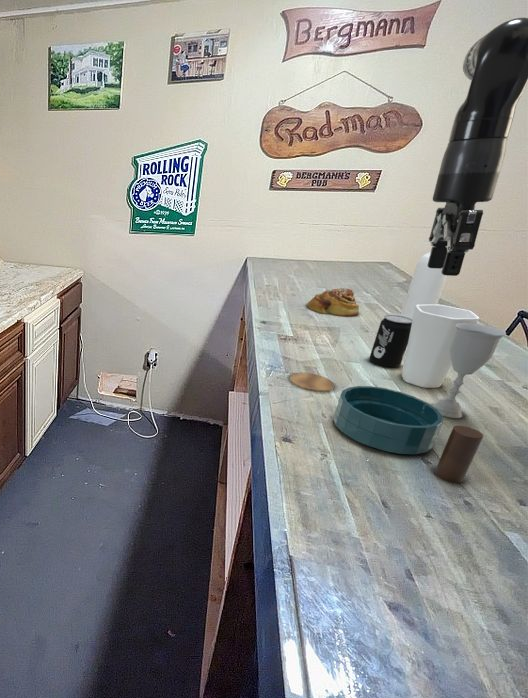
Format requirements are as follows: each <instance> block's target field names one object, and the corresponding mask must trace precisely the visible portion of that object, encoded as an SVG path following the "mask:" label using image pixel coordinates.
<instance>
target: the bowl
mask: <svg viewBox="0 0 528 698" xmlns="http://www.w3.org/2000/svg"><path fill="white" fill-rule="evenodd" d="M332 421H333V423H334V425H335V427H336V428H337V429H338V430H339V431H340V432H341V433H343V434H344V435H346V436H347V437H349V438H350V439H353V441H356V442H358V443H360V444H362V445H365V446H367V447H370V448H374V449H377V450H380V451H383V452H389V453H392V454H399V455H419V454H426V453H428V452H429V451H430V450H431V449H433V447H434V444H435V442H436V440H437V437H438V434H439V432H440V430H441V428H442V425H443V422H444V416H443V415H442V414H441V413H440V412H439V411H438V410H437V409H436V408H434V407H433V405H432V404H430V403H429V402H427V401H425V400H422V399H421V398H418V397H416V396H414V395H411V394H408V393H405V392H402V391H398V390H395V389H389V388H385V387H380V386H373V385H371V386H370V385H356V386H350V387H346V388H345V389H343V390H341V393H340V394H339V398H338V402H337V405H336V409H335V411H334V415H333V420H332Z"/></svg>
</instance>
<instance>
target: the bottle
mask: <svg viewBox="0 0 528 698" xmlns="http://www.w3.org/2000/svg"><path fill="white" fill-rule="evenodd" d="M440 230H441V229H440ZM432 247H434V246H431V249H432ZM446 247H447V246H446ZM431 249H430V251H428V252H427V253H425V254H423V255H422V256H421V257H420V258H419V259H418V261H417V262H416V266H415V269H414V272H413V275H412V278H411V281H410V284H409V287H408V290H407V294H406V296H405V299H404V301H403V305H402V307H401V311H400V314H399V316H404V317H408V318H411V319H412V320H413V315H414V310H415V306H416V305H430V304H438V305H439V301H440V298H441V296H442V293H443V289H444V288H445V285H446V281H447V279H448V276H447V275H443V274H442V268H440V269H439V268H429V267H428V266H427V265H428V261H429V257H430V253H431Z"/></svg>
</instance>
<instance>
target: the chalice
mask: <svg viewBox="0 0 528 698" xmlns="http://www.w3.org/2000/svg"><path fill="white" fill-rule="evenodd" d="M456 329H457V332H456V335H455V337H454V340H453V342H452V345H451V348H450V357H451V362H452V369H453V371H454V372H456V373H457V377H456V378H455V379H454V380H453V381H452V383H453V386H452V387H450V388H449V389H448V390H449V396H448V397H445V398H441V399H438V400H437V402H435V403H434V404H433V405H432V406H433V407H434V408H436V409H437V410H438V411H439V412H440V413H441V414H442V416H443V417H447V418H453V419H460V418H463V414H462V406H461V404H460V402H458V401H457V400H456V399H457V396H458V394H460V393H461V390H460V388H461V386H462V385H464V378H465V376H466V375H467V376H469V375H473V374H474V373H475V372H477V371H478V370H480V369H481V368H482V367H483V366H485V364H487V362H489V361H490V359H492V358H493V356H494V353H495V352H496V349H497V347H498V344H499V342H500V339H502V338H503V337H504V336H505V335H507V332H506V331H505V330H502V329H499V328H497V327H494V326H489V325H484V324H480V323H479V324H478V323H477V324H471V323H459V324H456Z"/></svg>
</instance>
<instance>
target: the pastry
mask: <svg viewBox="0 0 528 698" xmlns="http://www.w3.org/2000/svg"><path fill="white" fill-rule="evenodd" d="M354 295H355V293H354V292H353V289H351V288H345V287H340V288H333V289H331V290H325V291H323V292H322V293H318V294H315V295H314V297H313V298H311V299H310V300H309V301H308V302H307V303H306V307H307V309H309V310H311V311H313V312H316V313H319V314H324V315H331V316H337V317H346V318H348V317H349V318H350V317H356V316H358V315H359V314H360V313H359V311H360V305H358V304H357V300H356V298H355V297H354Z"/></svg>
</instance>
